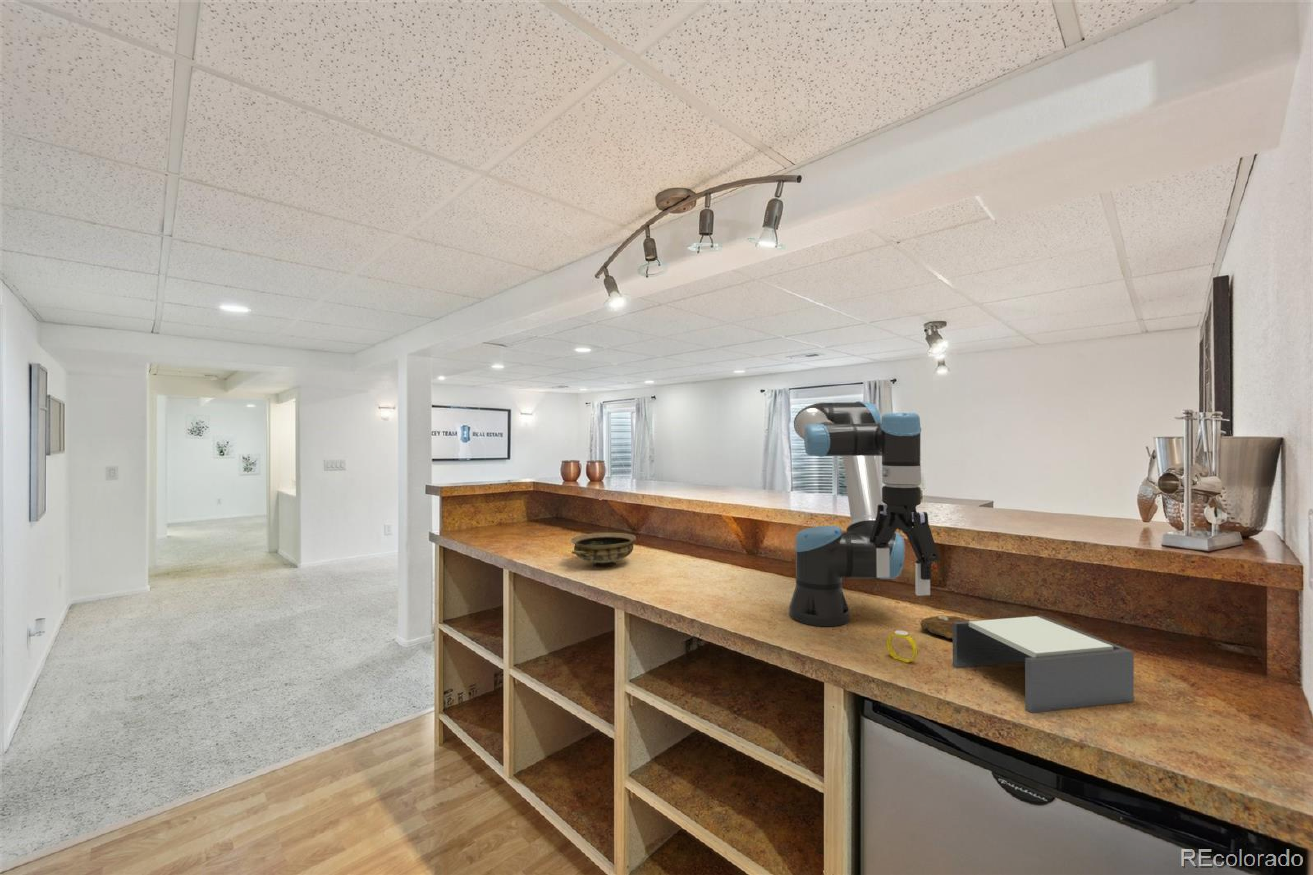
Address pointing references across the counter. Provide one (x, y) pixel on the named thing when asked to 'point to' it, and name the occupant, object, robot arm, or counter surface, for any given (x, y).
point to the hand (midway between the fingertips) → (901, 585)
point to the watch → (906, 635)
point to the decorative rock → (941, 625)
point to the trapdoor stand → (1054, 670)
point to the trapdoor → (1038, 636)
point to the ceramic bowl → (603, 547)
